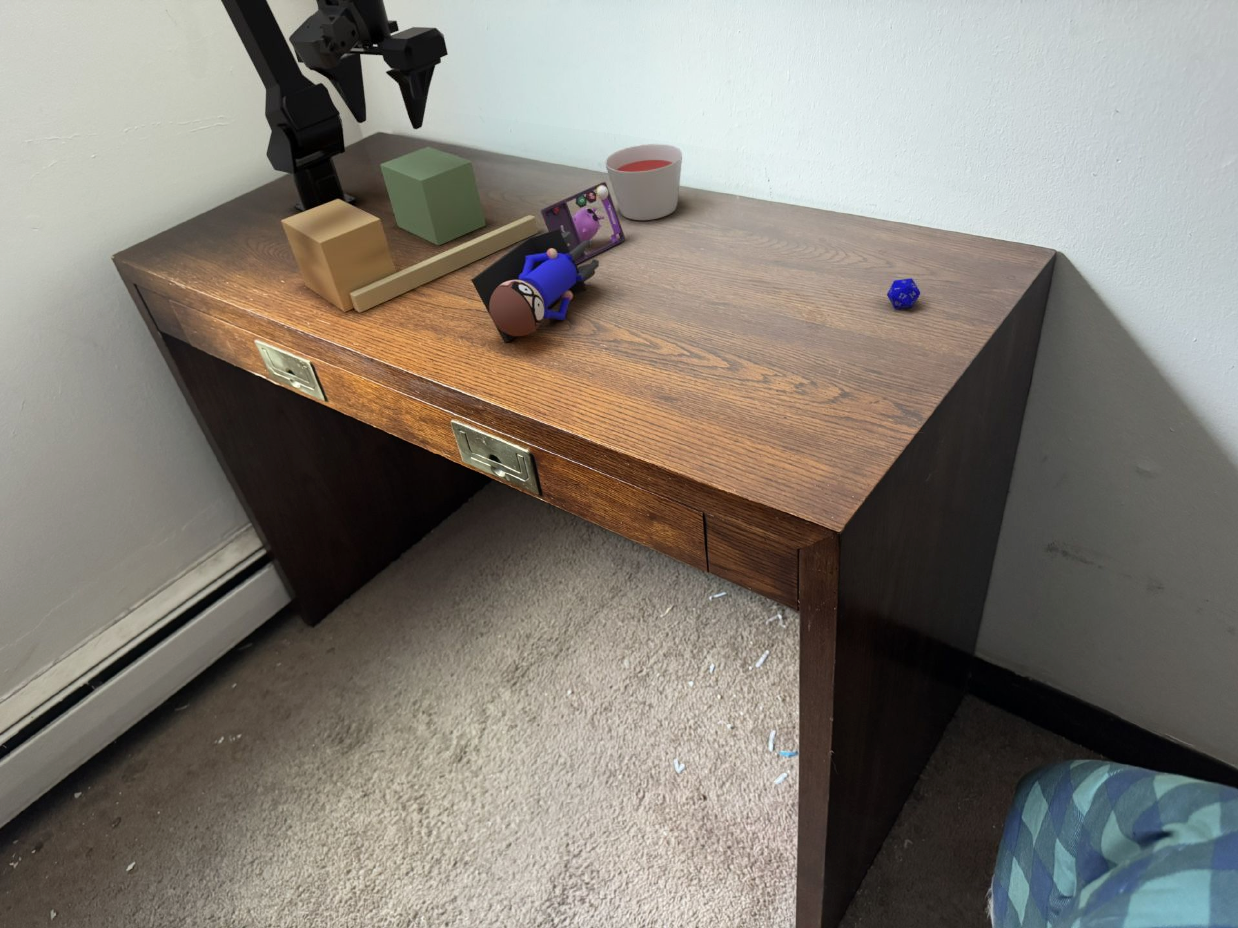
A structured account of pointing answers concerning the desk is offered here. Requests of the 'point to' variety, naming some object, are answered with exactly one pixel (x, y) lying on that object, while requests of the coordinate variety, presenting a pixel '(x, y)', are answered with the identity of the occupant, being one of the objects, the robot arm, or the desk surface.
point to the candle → (646, 180)
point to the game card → (583, 219)
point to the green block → (434, 194)
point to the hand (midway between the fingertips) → (389, 125)
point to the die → (903, 293)
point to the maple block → (339, 250)
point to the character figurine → (533, 282)
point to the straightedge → (442, 264)
